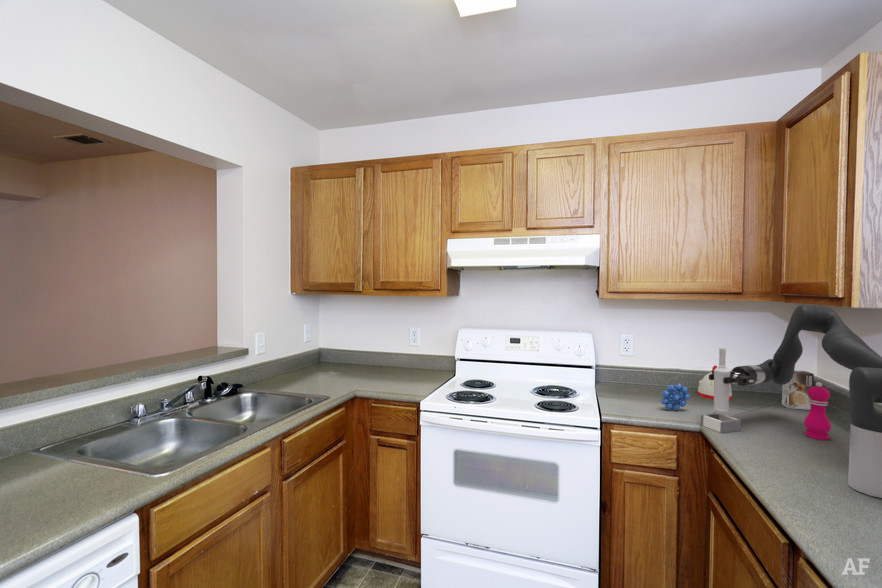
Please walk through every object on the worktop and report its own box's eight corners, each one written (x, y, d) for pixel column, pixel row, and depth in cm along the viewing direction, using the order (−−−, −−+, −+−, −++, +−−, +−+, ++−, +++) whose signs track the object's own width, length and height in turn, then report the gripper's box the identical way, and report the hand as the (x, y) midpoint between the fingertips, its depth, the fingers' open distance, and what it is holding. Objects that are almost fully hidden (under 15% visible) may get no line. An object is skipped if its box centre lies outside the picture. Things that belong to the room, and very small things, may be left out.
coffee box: (805, 406, 184) (806, 370, 183) (813, 410, 178) (815, 374, 177) (781, 404, 187) (782, 369, 186) (788, 408, 180) (789, 372, 180)
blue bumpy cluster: (684, 407, 181) (685, 381, 180) (692, 412, 174) (692, 385, 173) (656, 407, 182) (657, 380, 181) (663, 411, 175) (664, 384, 175)
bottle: (713, 410, 160) (715, 346, 159) (729, 412, 157) (731, 348, 156) (712, 413, 156) (713, 348, 155) (728, 416, 153) (730, 350, 152)
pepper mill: (801, 436, 148) (803, 381, 147) (805, 431, 153) (807, 378, 152) (828, 442, 143) (831, 385, 142) (832, 437, 147) (834, 382, 147)
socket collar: (740, 430, 154) (741, 420, 153) (722, 433, 151) (723, 422, 151) (718, 422, 162) (718, 412, 162) (700, 424, 159) (701, 414, 159)
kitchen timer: (693, 395, 200) (694, 365, 199) (702, 390, 209) (703, 361, 209) (727, 402, 190) (728, 370, 189) (735, 396, 199) (736, 366, 198)
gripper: (730, 362, 167) (699, 365, 162) (768, 369, 154) (736, 373, 148) (729, 380, 167) (699, 384, 162) (767, 389, 154) (735, 393, 148)
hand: (717, 379), depth 155 cm, fingers closed on bottle, 5 cm apart
